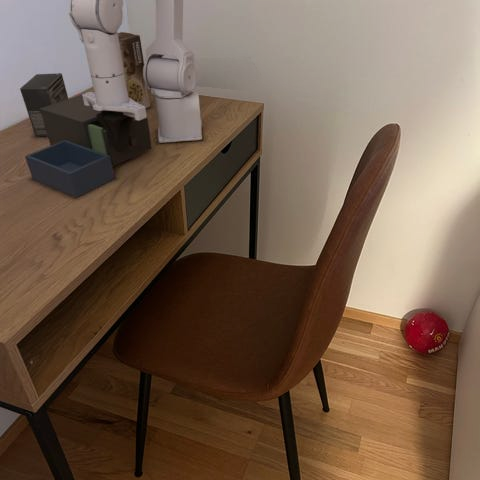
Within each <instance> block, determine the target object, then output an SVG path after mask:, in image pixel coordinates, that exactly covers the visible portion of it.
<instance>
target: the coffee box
mask: <svg viewBox="0 0 480 480" xmlns="http://www.w3.org/2000/svg"><path fill="white" fill-rule="evenodd" d="M118 38H119V44H120V50H121V56H122V62H123V68H124V74H125V80H126V86H127V92H128V97H129V98H131V99H132V100H134V101H135V102H137V103H138V104H140V105H142V106H145V109H146V110H147V109H148V108H150V107H151V101H150V100H151V99H150V94H149V88H148V87H147V85H146V83H145V81H144V77H143V67H144V64H145V60H144V55H143V53H144V52H143V47H142V41H141V35H139V34H134V33H130V32H126V31H125V32H124V31H120V32H118Z"/></svg>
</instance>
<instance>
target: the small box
mask: <svg viewBox="0 0 480 480" xmlns="http://www.w3.org/2000/svg"><path fill="white" fill-rule="evenodd" d="M19 90H20V93H21V96H22V101H23V102H24V106H25V108H26V112H27V114H28V118H29V121H30V124H31V128H32V130H33V134H34V136H35V137H48V135H47V132H46V128H45V125H44V121H43V118H42V115H41V111H40V108H43V107H46V106H49V105H52V104H55V103H58V102H61V101H64V100H67V99H69V96H68V92H67V87H66V84H65V80H64V78H63V73H62V72H59V73H36V74H35V75H34V76H33V77H32V78H30V79H29V80H28V81H27V82H26V83H25V84H24V85H22V86H21V87H20V88H19Z"/></svg>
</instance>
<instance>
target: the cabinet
mask: <svg viewBox="0 0 480 480" xmlns="http://www.w3.org/2000/svg"><path fill="white" fill-rule="evenodd" d="M40 111H41V115H42V118H43V121H44V125H45V128H46V132H47V135H48V136H47V138H48V142H49V146H51V145H54V144H56V143H59V142H61V141H64V140H67V141H69V142H72V143H75V144H78V145H81V146H84V147H86V148H89V149H92V148H91V144H90V140H89V136H88V131H87V127H86V124H88V123H91V122H94V121H96V120H97V117H96V115H97V114H99V113H101V111H97V110H94V109H93V106H92V105H90V106H86V105H84V100H83V96H82V94H79V95H76V96H73V97H69V98H68V99H67V100H64V101H61V102H58V103H55V104H52V105H49V106H46V107H43V108H40Z"/></svg>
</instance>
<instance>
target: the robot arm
mask: <svg viewBox="0 0 480 480" xmlns="http://www.w3.org/2000/svg"><path fill="white" fill-rule="evenodd" d="M123 6H124V0H70V1H69V12H68V16H69V19H70V22H71V23H72V25H73V26H74V28H75V29H76V30H77V33H78V37H79V41H81V43H82V44H83V46H84V50H85V51H84V52H85V55H86V60H87V65H88V68H89V73H90V77H91V83H92V88H93V91H88V92H85V93H82V94H81V95H82V96H83V100H84V105H86V106H90V105H92V106H93V109H94V110H97V111H101V113H99V114H97V115H96V117H97V120H98V121H99V122H100V123H101V124H102V126H103V127H104V128H105V130H106V132H107V133H108V135H109V137H110V139H111V141H112V144H113V146H114V148H115V150H116V152H119V153H122V152H124V151H126V150H128V144H129V133H130V128H131V124H132V121H133V119H134V118H135V120H138V121H140V120H142V119H144V118H148V114H147V108H146V109H145V106H142V105H140V104H138V103H137V102H135V101H134V100H132V99H131V98H129V97H128V92H127V86H126V80H125V74H124V68H123V62H122V56H121V50H120V44H119V38H118V33H119V32H118V31H119V30H120V28H121V26H122V25H123V17H124V16H123V15H124V13H123ZM183 25H184V0H155V39H154V40H153V41H152V42H151V44H149V46H147V47H146V49H145V58H144V59H145V60H144V67H143V77H144V81H145V83H146V85H147V87H148V89H150V91H151V95H154V99H155V107H156V115H157V121H158V128H157V136H158V143H159V144H161V143H176V142H178V143H179V142H188V141H189V142H191V141H192V142H193V141H201V140H203V135H202V134H203V133H202V128H203V119H202V118H201V107H200V98H199V97H200V95H199V92H198V91H194V89H195V86H196V84H197V70H196V69H197V68H196V66H195V53H194V52H193V51H192V50H191V49H190V47H189V46H187V45H186V43H185V42H184V41H183V30H184V29H183V27H184V26H183ZM164 56H169V57H170V56H171V57H175V58H169V57H164Z"/></svg>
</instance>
